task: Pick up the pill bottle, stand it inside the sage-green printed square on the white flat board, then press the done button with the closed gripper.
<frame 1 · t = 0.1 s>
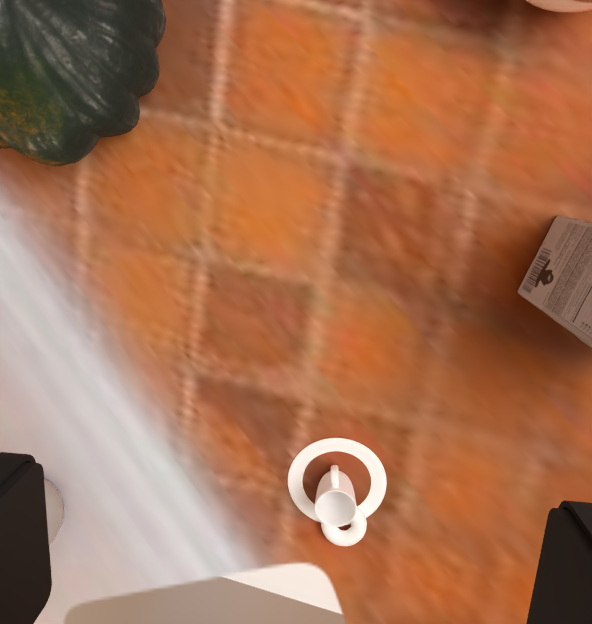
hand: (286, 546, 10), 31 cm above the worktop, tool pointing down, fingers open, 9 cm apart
teacup and saucer: (307, 497, 46), on the worktop
coffee box: (590, 278, 39), on the worktop
squash: (78, 47, 38), on the worktop
plastic bottle: (37, 497, 47), on the worktop
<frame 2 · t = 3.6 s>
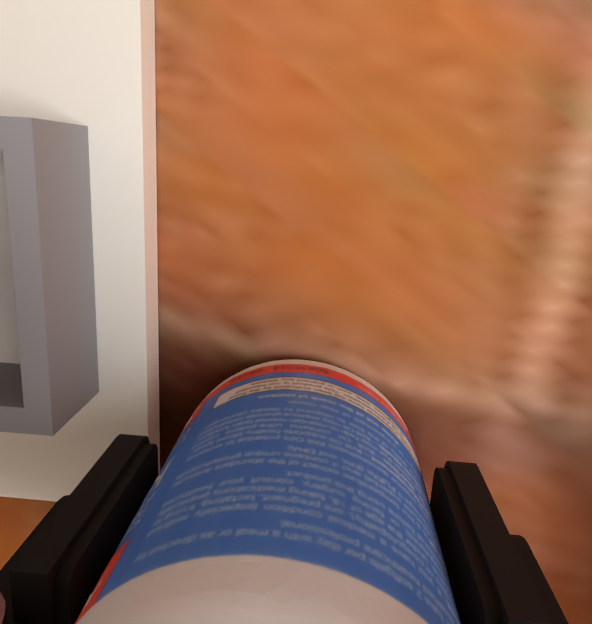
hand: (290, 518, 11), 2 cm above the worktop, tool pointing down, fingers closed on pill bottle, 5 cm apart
pill bottle: (298, 459, 13), on the worktop, touching gripper
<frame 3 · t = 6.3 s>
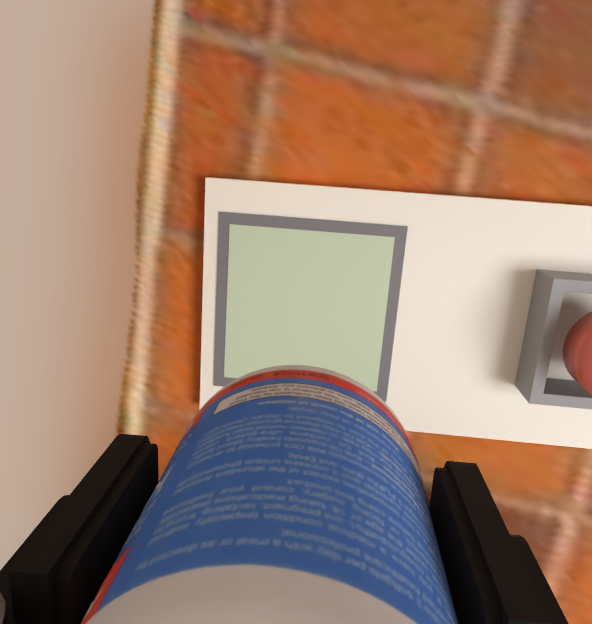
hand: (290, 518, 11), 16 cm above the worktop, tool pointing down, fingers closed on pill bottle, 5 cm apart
white flat board: (430, 316, 26), on the worktop
pill bottle: (298, 464, 13), point 13 cm above the worktop, touching gripper
when the fingers open (4 cm above the worktop, at t = 8.9 s): pill bottle drops 1 cm, resting on white flat board.
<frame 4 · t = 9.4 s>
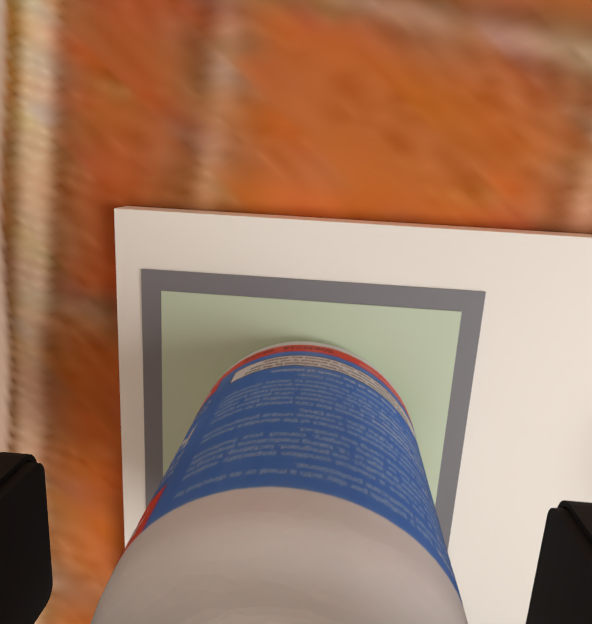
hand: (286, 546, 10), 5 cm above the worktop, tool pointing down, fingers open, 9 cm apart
white flat board: (517, 438, 15), on the worktop
pill bottle: (304, 434, 14), point 1 cm above the worktop, touching white flat board
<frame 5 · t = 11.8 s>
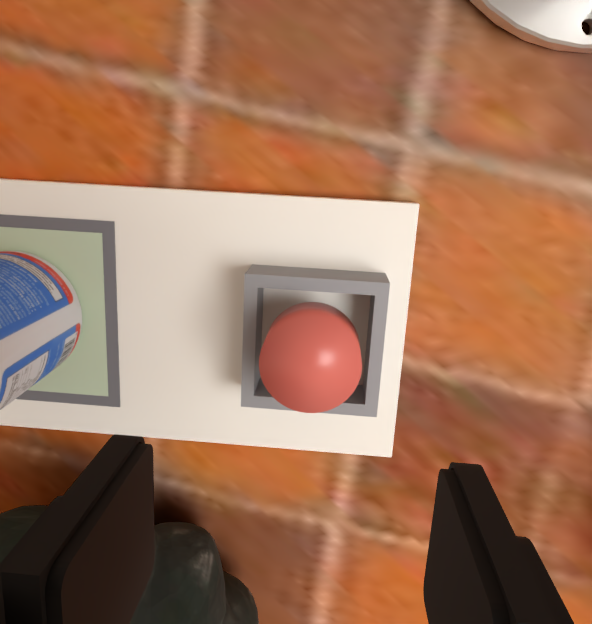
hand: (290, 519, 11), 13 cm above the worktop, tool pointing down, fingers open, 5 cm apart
white flat board: (161, 315, 24), on the worktop
squash: (129, 574, 28), on the worktop
pill bottle: (27, 311, 24), point 1 cm above the worktop, touching white flat board
done button: (311, 356, 20), point 4 cm above the worktop, slide at 0.0 cm
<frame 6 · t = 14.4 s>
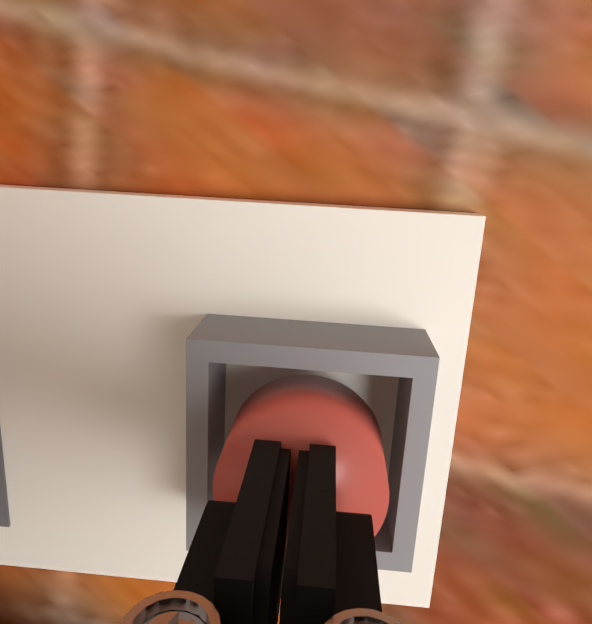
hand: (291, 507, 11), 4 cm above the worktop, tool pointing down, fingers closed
white flat board: (70, 387, 16), on the worktop
done button: (303, 467, 12), point 3 cm above the worktop, slide at 0.7 cm, touching gripper
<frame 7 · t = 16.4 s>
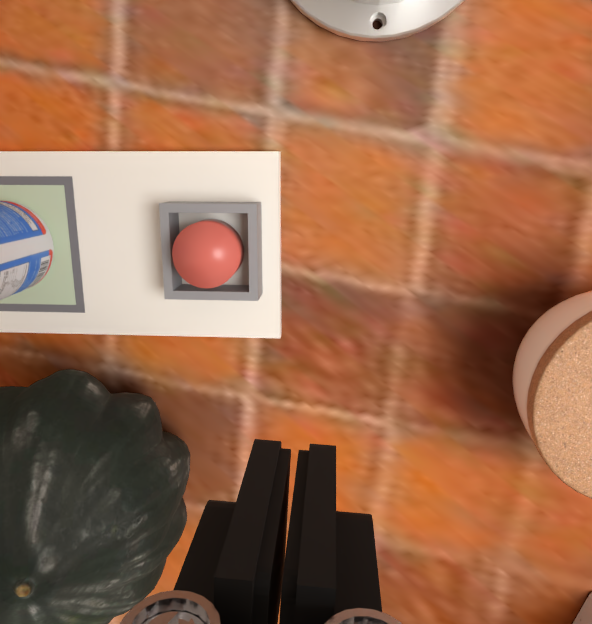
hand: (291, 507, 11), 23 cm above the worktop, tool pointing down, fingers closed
white flat board: (110, 245, 34), on the worktop
lidded jar: (577, 355, 34), on the worktop
squash: (101, 447, 38), on the worktop
pill bottle: (15, 245, 34), point 1 cm above the worktop, touching white flat board
done button: (209, 253, 31), point 3 cm above the worktop, slide at 0.9 cm
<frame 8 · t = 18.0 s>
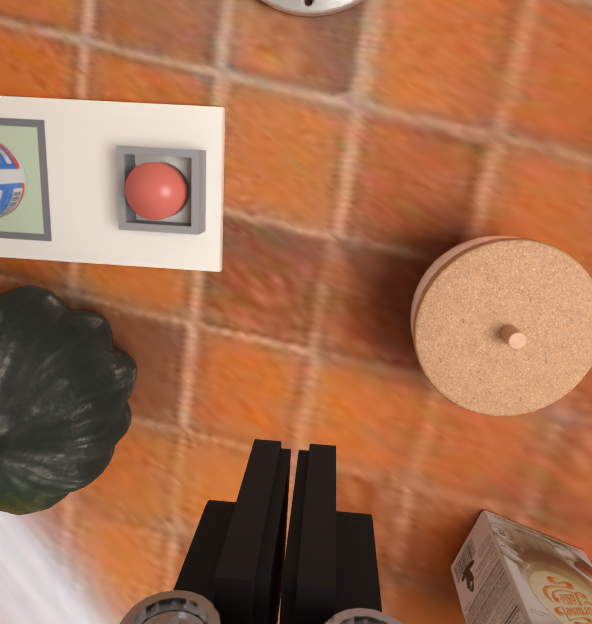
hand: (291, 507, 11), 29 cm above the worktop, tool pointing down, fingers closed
coffee box: (514, 556, 45), on the worktop
white flat board: (76, 183, 39), on the worktop
lidded jar: (475, 299, 39), on the worktop
squash: (63, 364, 43), on the worktop
done button: (157, 190, 36), point 3 cm above the worktop, slide at 0.9 cm
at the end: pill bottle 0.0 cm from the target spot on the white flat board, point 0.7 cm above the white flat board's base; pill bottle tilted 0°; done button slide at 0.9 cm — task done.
